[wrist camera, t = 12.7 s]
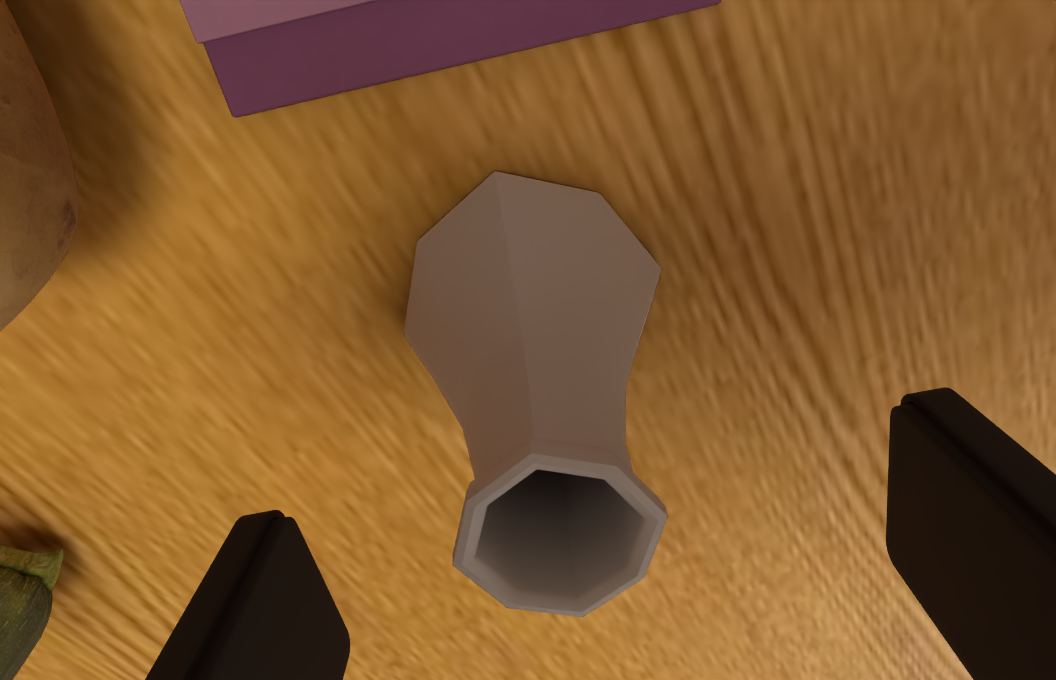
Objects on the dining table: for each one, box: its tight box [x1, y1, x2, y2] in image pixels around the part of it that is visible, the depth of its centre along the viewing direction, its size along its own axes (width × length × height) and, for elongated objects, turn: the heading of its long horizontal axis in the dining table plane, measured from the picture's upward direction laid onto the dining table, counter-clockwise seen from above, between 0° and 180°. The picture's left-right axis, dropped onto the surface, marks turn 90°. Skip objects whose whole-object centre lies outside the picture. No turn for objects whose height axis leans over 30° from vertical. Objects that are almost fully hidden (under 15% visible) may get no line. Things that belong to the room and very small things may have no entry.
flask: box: [404, 171, 668, 617], centre depth 14 cm, size 7×7×10 cm
